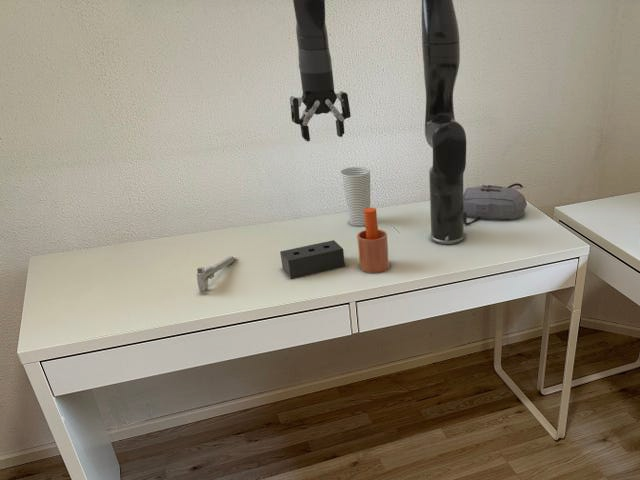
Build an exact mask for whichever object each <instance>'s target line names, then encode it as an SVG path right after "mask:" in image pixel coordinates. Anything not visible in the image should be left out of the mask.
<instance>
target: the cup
mask: <svg viewBox="0 0 640 480" xmlns="http://www.w3.org/2000/svg"><path fill="white" fill-rule="evenodd" d="M340 178H341V183H342V188H343V193H344V198H345V203H346V208H347V209H346V210H347V214H348V219H349V223H350V225H352V226H354V227H362V226H363V227H364V226H365V215H364V209H366V208H371V169H369V168H367V167H364V166H351V167H346V168H343V169H342V170H340Z"/></svg>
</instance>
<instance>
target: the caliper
mask: <svg viewBox="0 0 640 480" xmlns="http://www.w3.org/2000/svg"><path fill="white" fill-rule="evenodd" d="M235 260H236V257H235V256H231V255H230V256H228V257H226V258H224V259H222V260H220V261H219V262H217V263H216V264H214V265H212V266H211V265H209V266H206V267H204V266H199V267H198V268H196V271H197V272H196V282H197V286H198V291H199V293H201V294H205V293H206V292H209V279H210V280H212V279H213V278H214V277H215V274H216V273H217V272H219V271H221V270H223V269H224V268H226V267H228V266H229V265H231V264H232V263H234V262H235Z"/></svg>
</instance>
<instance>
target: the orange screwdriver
mask: <svg viewBox="0 0 640 480" xmlns="http://www.w3.org/2000/svg"><path fill="white" fill-rule="evenodd" d="M364 215H365V225H364V226H365V230H366V238H367V240H374V239H378V229H379V227H378V226H379V225H378V215H377V209H376V207H370V208H366V209H364Z"/></svg>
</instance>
